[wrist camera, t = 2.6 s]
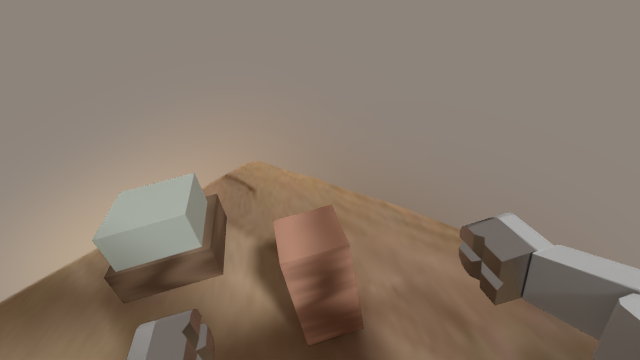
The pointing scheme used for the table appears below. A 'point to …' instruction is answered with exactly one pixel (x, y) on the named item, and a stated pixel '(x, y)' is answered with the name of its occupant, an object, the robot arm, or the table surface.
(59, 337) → the table surface
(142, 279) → the walnut base block
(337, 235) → the terracotta tall block
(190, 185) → the sage top block
